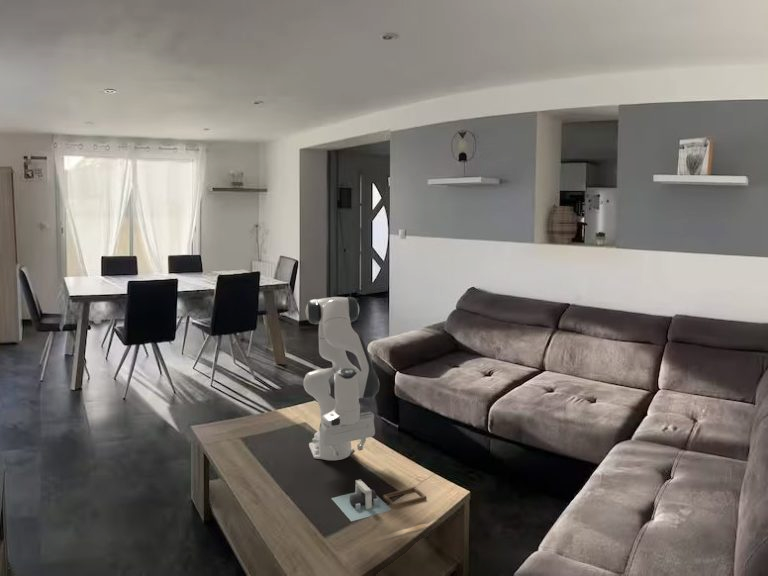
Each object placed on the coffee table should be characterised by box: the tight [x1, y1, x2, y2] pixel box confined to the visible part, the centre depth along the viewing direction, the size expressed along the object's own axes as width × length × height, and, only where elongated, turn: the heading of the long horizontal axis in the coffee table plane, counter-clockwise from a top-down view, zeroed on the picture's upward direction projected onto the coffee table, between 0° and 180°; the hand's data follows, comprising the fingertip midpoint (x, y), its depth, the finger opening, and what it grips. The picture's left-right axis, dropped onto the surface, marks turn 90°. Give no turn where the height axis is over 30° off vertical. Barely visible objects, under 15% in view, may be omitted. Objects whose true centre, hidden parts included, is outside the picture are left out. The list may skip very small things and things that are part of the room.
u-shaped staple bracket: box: [354, 479, 373, 509], centre depth 216 cm, size 10×2×7 cm, turn 28°
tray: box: [382, 486, 427, 509], centre depth 220 cm, size 9×14×2 cm, turn 118°
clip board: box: [331, 491, 393, 522], centre depth 216 cm, size 18×16×3 cm
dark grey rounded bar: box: [350, 489, 378, 507], centre depth 216 cm, size 4×9×4 cm, turn 117°
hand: (348, 452), depth 211 cm, fingers open, 8 cm apart
